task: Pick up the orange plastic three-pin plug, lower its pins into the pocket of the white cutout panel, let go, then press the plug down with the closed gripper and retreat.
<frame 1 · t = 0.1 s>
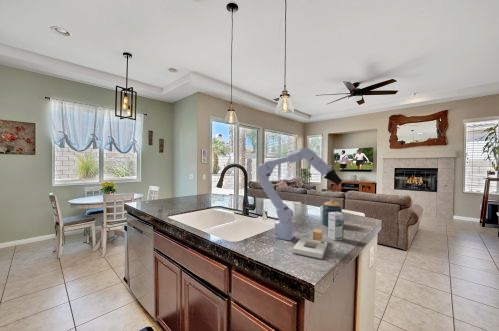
hand: (340, 183, 106), 32 cm above the table, tool tilted 50°, fingers open, 7 cm apart
plug: (317, 241, 113), on the table
canister: (331, 225, 146), on the table
syrup box: (335, 239, 118), on the table
white cutout panel: (310, 250, 102), on the table
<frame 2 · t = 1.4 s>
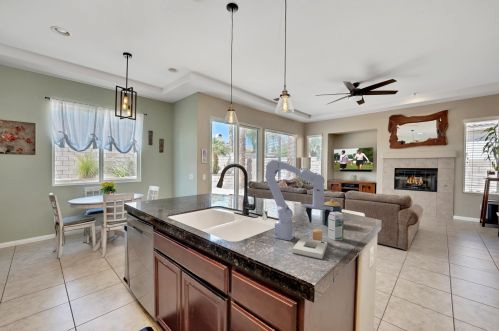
hand: (317, 223, 113), 10 cm above the table, tool pointing down, fingers open, 7 cm apart
nothing on the table moved.
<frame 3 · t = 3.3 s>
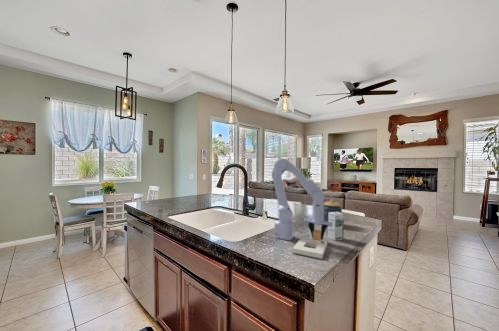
hand: (317, 238, 113), 2 cm above the table, tool pointing down, fingers closed on plug, 4 cm apart
plug: (317, 241, 113), on the table, touching gripper
everything else where it was.
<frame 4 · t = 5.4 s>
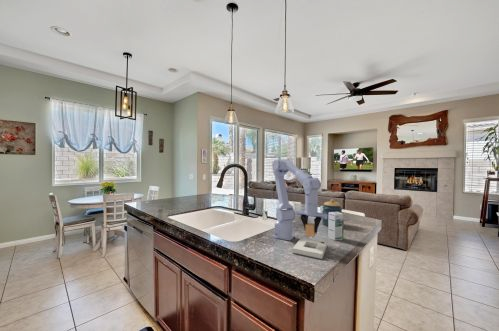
hand: (310, 231, 102), 9 cm above the table, tool pointing down, fingers closed on plug, 4 cm apart
plug: (311, 236, 102), point 7 cm above the table, touching gripper
everything else where it was.
when the fingers open (4 cm above the table, at t = 7.5 s): plug drops 1 cm, resting on white cutout panel.
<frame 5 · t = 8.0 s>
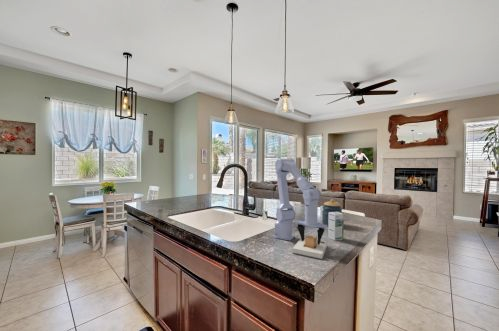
hand: (310, 242, 102), 4 cm above the table, tool pointing down, fingers open, 7 cm apart
plug: (310, 248, 102), resting on white cutout panel
everything else where it was.
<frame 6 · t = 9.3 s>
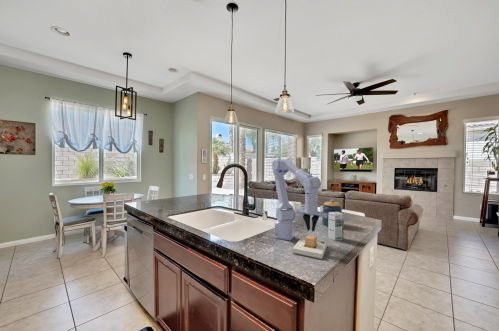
hand: (310, 230, 102), 9 cm above the table, tool pointing down, fingers closed
nothing on the table moved.
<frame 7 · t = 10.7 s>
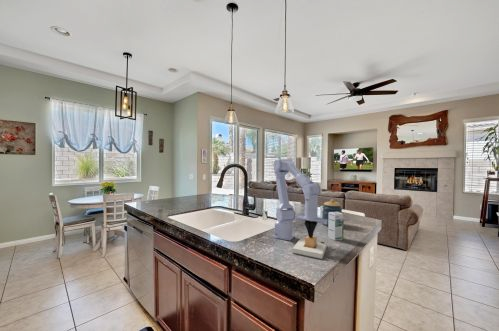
hand: (310, 236, 102), 6 cm above the table, tool pointing down, fingers closed
nothing on the table moved.
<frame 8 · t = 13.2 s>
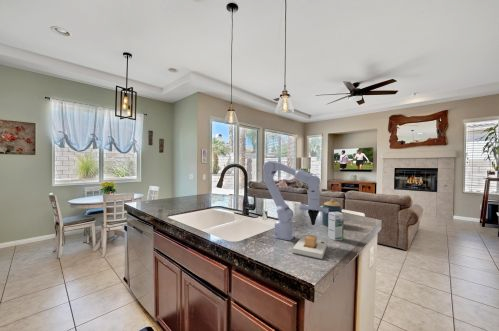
hand: (313, 224, 112), 9 cm above the table, tool pointing down, fingers closed
nothing on the table moved.
at the end: plug 0.4 cm off-centre on the white cutout panel, point 0.4 cm above the white cutout panel's base; plug tilted 0°; the gripper is holding nothing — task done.
